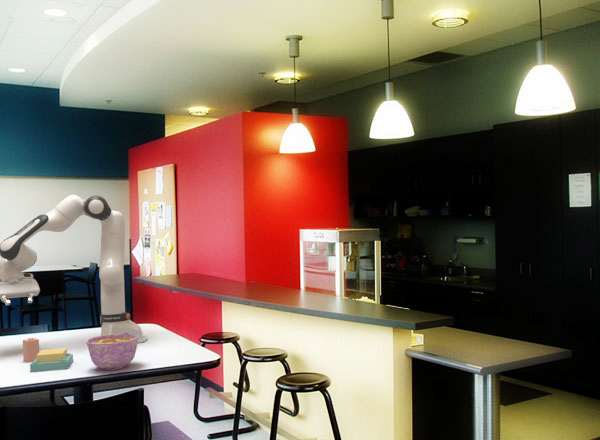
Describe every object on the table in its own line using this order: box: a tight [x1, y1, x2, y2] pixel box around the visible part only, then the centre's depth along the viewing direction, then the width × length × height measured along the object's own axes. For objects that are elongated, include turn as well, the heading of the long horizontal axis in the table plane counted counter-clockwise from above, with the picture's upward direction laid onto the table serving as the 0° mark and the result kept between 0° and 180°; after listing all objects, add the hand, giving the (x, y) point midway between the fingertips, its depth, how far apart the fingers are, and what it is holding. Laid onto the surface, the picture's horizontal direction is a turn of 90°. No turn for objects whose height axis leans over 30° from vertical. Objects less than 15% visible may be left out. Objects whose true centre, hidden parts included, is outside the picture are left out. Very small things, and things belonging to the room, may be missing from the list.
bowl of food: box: [86, 334, 139, 371], centre depth 238 cm, size 20×20×12 cm
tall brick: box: [22, 337, 40, 363], centre depth 256 cm, size 5×5×10 cm
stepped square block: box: [29, 348, 74, 373], centre depth 244 cm, size 14×14×6 cm
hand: (19, 303), depth 266 cm, fingers open, 8 cm apart
